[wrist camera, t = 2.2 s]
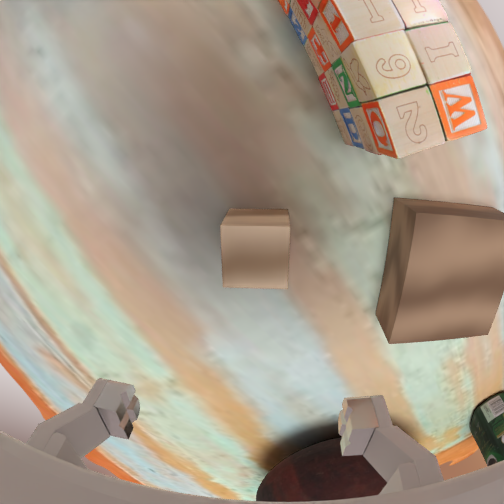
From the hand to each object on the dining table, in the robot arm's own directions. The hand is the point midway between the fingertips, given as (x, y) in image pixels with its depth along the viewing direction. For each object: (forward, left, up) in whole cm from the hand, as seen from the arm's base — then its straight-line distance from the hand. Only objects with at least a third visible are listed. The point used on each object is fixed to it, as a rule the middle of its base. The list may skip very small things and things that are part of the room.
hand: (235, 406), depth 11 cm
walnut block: (+2, +18, -19) cm, 26 cm away
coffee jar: (+29, +39, -19) cm, 52 cm away
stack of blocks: (-19, +6, -19) cm, 28 cm away
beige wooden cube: (0, 0, -19) cm, 19 cm away
